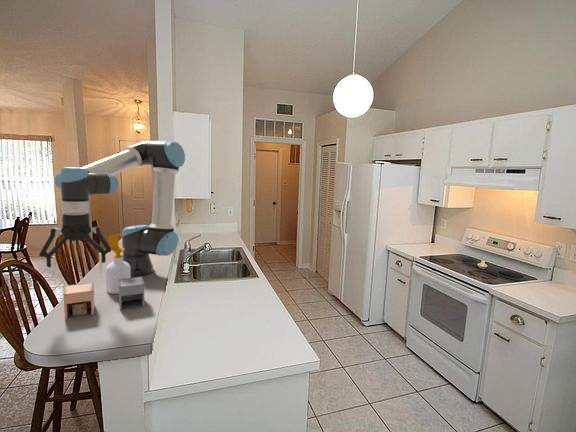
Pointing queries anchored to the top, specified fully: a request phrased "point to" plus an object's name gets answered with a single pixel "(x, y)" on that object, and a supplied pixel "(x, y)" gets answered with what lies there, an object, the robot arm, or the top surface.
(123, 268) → the soap bottle
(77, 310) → the letter cube
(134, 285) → the slate cover
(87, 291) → the terracotta cover
